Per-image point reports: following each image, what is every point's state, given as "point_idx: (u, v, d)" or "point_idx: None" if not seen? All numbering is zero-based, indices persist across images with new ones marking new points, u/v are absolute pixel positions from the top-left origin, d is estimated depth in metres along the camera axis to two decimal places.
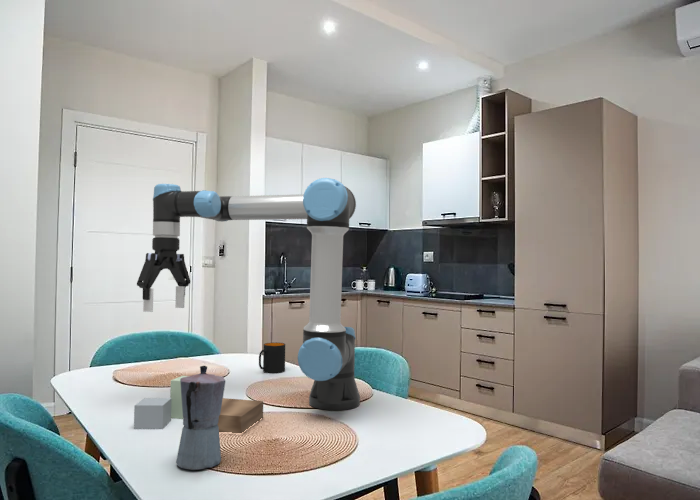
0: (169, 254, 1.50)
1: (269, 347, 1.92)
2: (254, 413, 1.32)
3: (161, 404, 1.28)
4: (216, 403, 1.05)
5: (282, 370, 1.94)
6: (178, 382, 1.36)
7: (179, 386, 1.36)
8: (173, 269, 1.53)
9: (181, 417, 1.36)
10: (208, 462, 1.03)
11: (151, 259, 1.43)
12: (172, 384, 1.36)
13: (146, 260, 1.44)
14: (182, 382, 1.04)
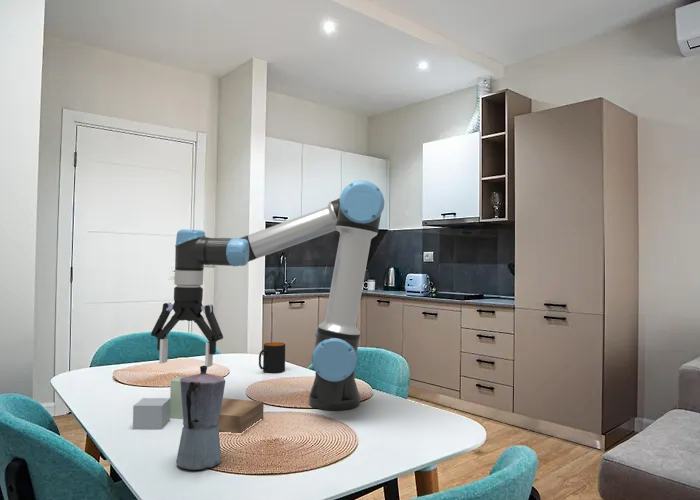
0: (186, 305, 1.38)
1: (269, 347, 1.92)
2: (254, 413, 1.32)
3: (160, 404, 1.28)
4: (216, 403, 1.05)
5: (282, 370, 1.94)
6: (178, 382, 1.36)
7: (179, 386, 1.36)
8: None
9: (181, 417, 1.36)
10: (208, 462, 1.03)
11: None
12: (172, 384, 1.36)
13: None
14: (182, 382, 1.04)
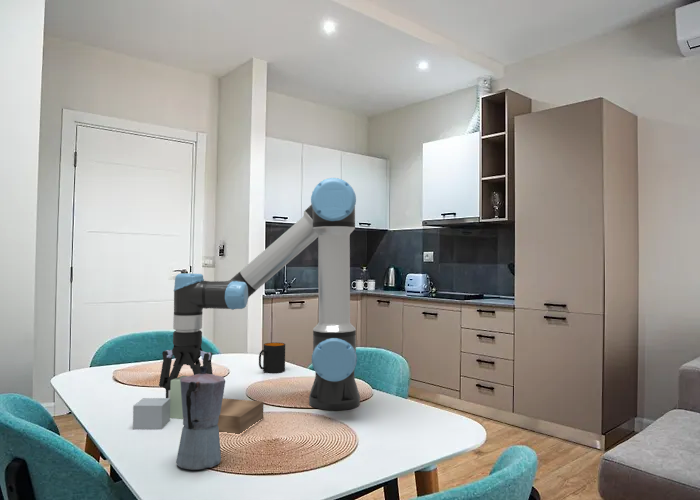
0: (186, 349, 1.38)
1: (269, 347, 1.92)
2: (254, 414, 1.31)
3: (160, 404, 1.28)
4: (216, 403, 1.05)
5: (282, 370, 1.94)
6: (178, 382, 1.36)
7: (179, 386, 1.36)
8: None
9: (181, 417, 1.36)
10: (208, 462, 1.03)
11: None
12: (172, 384, 1.36)
13: None
14: (182, 382, 1.04)
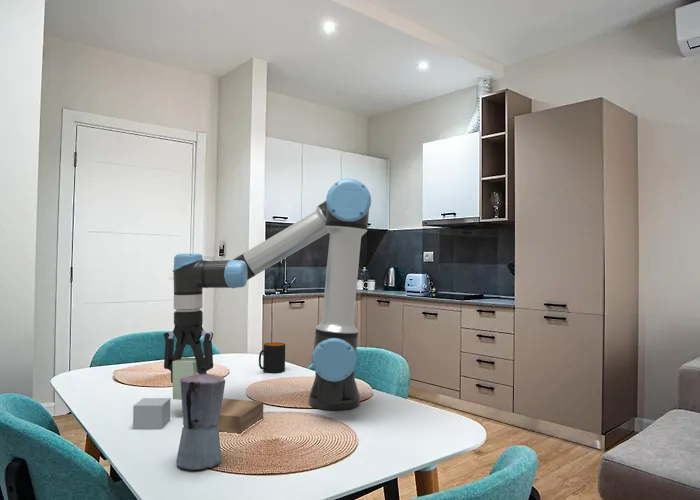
0: (187, 329, 1.38)
1: (269, 347, 1.92)
2: (254, 414, 1.31)
3: (160, 404, 1.28)
4: (216, 403, 1.05)
5: (282, 370, 1.94)
6: (180, 363, 1.36)
7: (181, 367, 1.36)
8: None
9: None
10: (208, 462, 1.03)
11: None
12: (174, 365, 1.37)
13: None
14: (182, 382, 1.04)
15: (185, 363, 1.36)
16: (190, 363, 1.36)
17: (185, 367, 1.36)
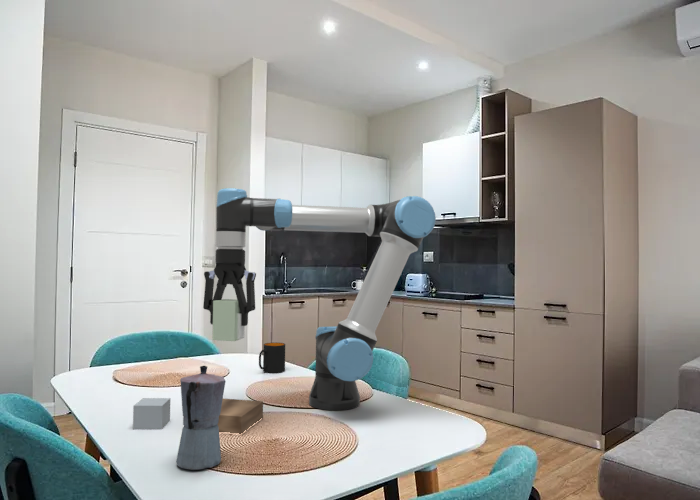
0: (229, 268, 1.32)
1: (269, 347, 1.92)
2: (254, 413, 1.31)
3: (160, 404, 1.28)
4: (216, 403, 1.05)
5: (282, 370, 1.94)
6: (221, 302, 1.30)
7: (222, 306, 1.30)
8: None
9: (224, 339, 1.29)
10: (208, 462, 1.03)
11: None
12: (215, 304, 1.30)
13: None
14: (182, 382, 1.04)
15: (227, 303, 1.29)
16: (232, 302, 1.29)
17: (227, 306, 1.29)
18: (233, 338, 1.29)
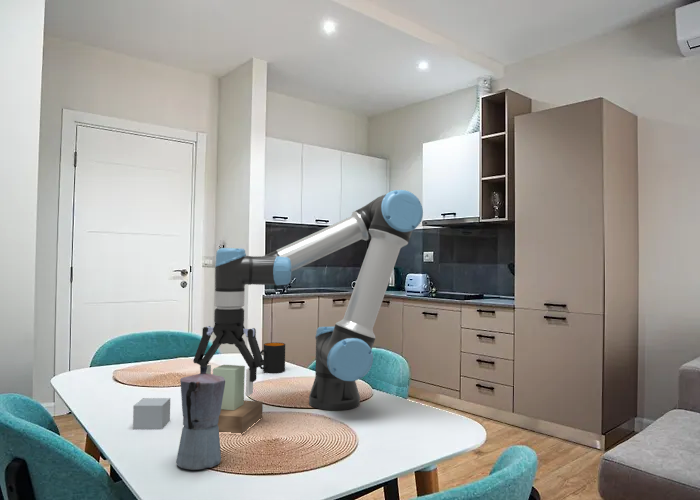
0: (228, 327, 1.31)
1: (269, 347, 1.92)
2: (254, 414, 1.32)
3: (160, 404, 1.28)
4: (216, 403, 1.05)
5: (282, 370, 1.94)
6: (221, 370, 1.30)
7: (222, 375, 1.29)
8: None
9: (224, 407, 1.29)
10: (208, 462, 1.03)
11: None
12: (214, 372, 1.30)
13: None
14: (182, 382, 1.04)
15: (227, 371, 1.29)
16: (232, 371, 1.29)
17: (227, 375, 1.29)
18: (232, 407, 1.29)
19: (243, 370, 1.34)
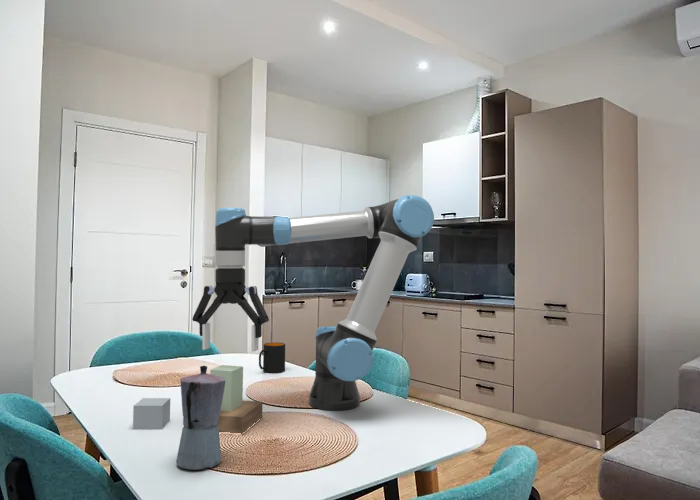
0: (229, 287, 1.32)
1: (269, 347, 1.92)
2: (254, 414, 1.32)
3: (160, 404, 1.28)
4: (216, 403, 1.05)
5: (282, 370, 1.94)
6: (218, 371, 1.29)
7: None
8: None
9: (221, 408, 1.29)
10: (208, 462, 1.03)
11: None
12: (212, 373, 1.30)
13: None
14: (182, 382, 1.04)
15: (224, 372, 1.29)
16: (229, 372, 1.28)
17: (224, 376, 1.29)
18: (230, 408, 1.28)
19: (242, 371, 1.33)
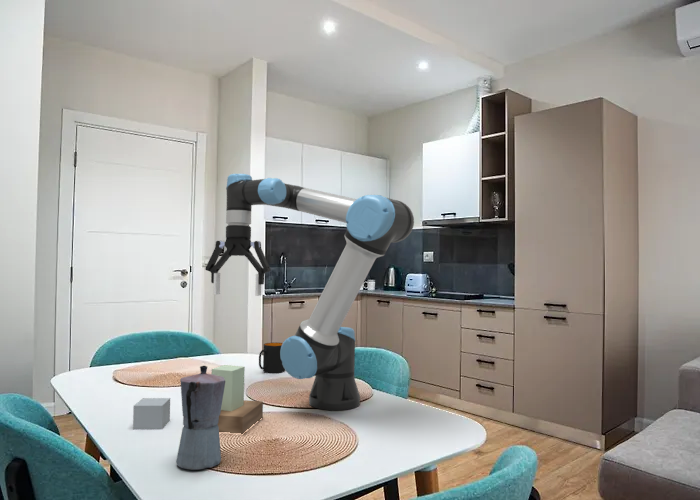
0: (237, 241, 1.55)
1: (269, 347, 1.92)
2: (255, 414, 1.32)
3: (160, 404, 1.28)
4: (216, 403, 1.05)
5: (282, 370, 1.94)
6: (219, 371, 1.29)
7: (220, 375, 1.29)
8: None
9: (222, 408, 1.29)
10: (208, 462, 1.03)
11: None
12: (213, 373, 1.30)
13: None
14: (182, 382, 1.04)
15: (225, 372, 1.29)
16: (229, 372, 1.28)
17: (225, 376, 1.29)
18: (230, 408, 1.28)
19: (243, 371, 1.33)
